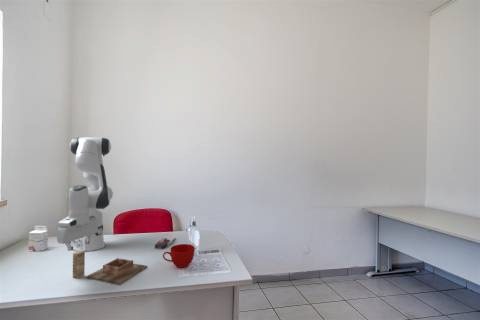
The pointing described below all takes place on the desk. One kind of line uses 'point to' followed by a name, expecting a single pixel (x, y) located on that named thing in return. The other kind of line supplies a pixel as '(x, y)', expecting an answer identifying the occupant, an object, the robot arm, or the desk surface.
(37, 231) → the ink cartridge box
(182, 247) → the ceramic cup
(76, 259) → the wooden peg
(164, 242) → the walkie-talkie
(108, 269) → the wooden peg socket board
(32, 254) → the desk surface
